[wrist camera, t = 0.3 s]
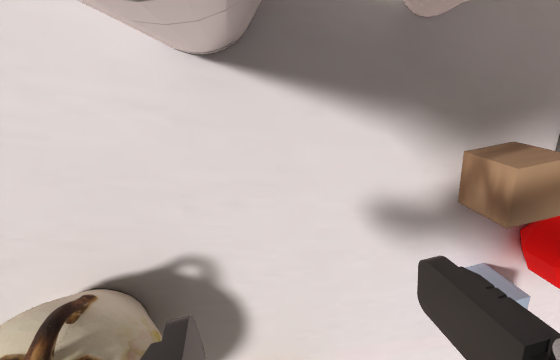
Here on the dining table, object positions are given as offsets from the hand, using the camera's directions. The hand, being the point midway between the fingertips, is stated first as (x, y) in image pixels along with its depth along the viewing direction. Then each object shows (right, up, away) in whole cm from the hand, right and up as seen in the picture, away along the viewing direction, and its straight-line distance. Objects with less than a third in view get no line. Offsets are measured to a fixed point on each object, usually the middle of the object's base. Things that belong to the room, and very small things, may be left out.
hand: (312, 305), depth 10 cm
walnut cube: (+22, +5, +21) cm, 31 cm away
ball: (+32, -2, +26) cm, 41 cm away
